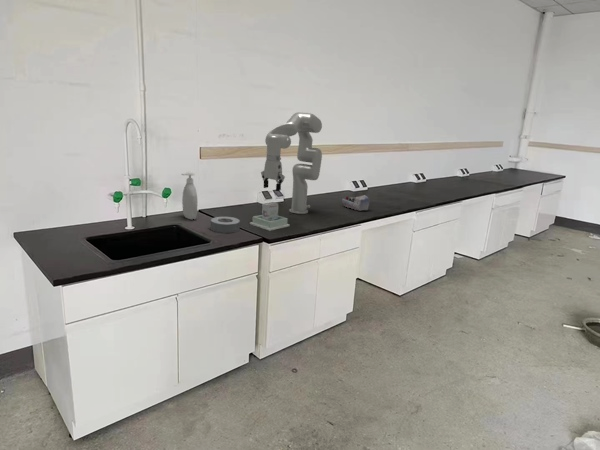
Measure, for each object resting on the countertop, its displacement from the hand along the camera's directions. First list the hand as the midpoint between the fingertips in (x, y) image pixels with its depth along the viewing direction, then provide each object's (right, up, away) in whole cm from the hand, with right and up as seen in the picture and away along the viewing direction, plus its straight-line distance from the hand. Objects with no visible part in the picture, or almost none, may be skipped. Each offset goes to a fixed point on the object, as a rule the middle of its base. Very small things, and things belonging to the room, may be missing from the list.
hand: (272, 189), depth 229 cm
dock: (-2, -20, +5) cm, 21 cm away
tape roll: (-25, -22, -8) cm, 34 cm away
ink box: (-2, -19, +5) cm, 20 cm away
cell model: (+55, -9, +64) cm, 84 cm away
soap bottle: (-49, -16, +8) cm, 52 cm away
